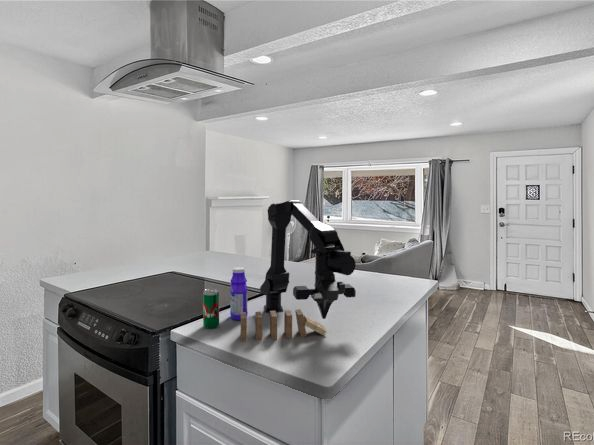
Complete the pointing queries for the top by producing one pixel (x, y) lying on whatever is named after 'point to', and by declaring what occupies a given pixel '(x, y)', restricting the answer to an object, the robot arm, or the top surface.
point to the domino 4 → (288, 323)
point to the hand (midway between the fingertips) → (323, 318)
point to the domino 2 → (258, 325)
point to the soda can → (210, 308)
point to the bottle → (238, 293)
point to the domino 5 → (300, 322)
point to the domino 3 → (273, 324)
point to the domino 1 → (243, 326)
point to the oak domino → (314, 325)
